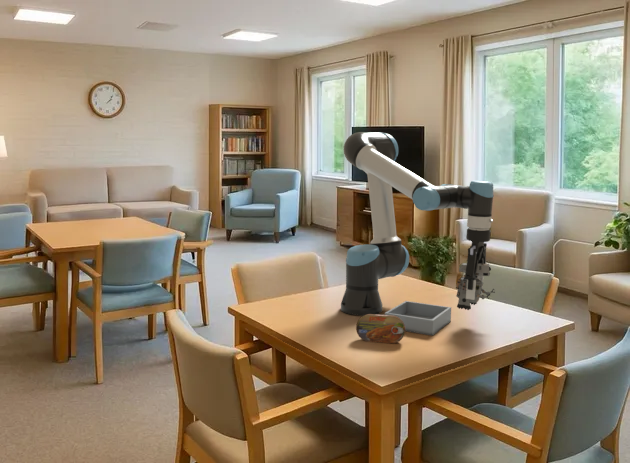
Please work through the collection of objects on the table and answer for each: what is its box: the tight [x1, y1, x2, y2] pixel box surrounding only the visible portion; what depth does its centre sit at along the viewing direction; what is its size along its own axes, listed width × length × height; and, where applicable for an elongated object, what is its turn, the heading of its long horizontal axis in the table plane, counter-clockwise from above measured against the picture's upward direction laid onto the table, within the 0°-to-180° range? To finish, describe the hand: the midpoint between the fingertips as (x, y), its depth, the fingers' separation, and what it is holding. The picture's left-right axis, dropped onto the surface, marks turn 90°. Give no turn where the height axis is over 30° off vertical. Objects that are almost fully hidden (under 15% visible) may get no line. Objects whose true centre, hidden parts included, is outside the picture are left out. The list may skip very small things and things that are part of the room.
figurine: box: [455, 262, 496, 311], centre depth 208 cm, size 9×12×15 cm
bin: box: [384, 300, 452, 337], centre depth 212 cm, size 17×19×5 cm
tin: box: [355, 314, 406, 344], centre depth 194 cm, size 15×3×8 cm, turn 77°
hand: (474, 295), depth 209 cm, fingers closed on figurine, 9 cm apart
